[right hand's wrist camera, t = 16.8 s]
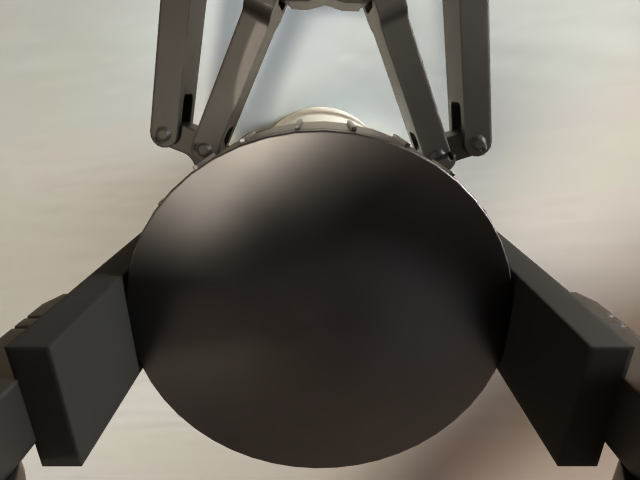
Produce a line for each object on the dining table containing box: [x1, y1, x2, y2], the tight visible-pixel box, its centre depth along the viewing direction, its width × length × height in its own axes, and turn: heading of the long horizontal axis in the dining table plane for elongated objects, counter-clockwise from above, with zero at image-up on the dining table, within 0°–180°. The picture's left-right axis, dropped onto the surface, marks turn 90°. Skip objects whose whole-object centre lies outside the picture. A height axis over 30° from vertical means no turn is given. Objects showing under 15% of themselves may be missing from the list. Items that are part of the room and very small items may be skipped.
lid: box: [126, 119, 513, 468], centre depth 11 cm, size 9×9×2 cm
